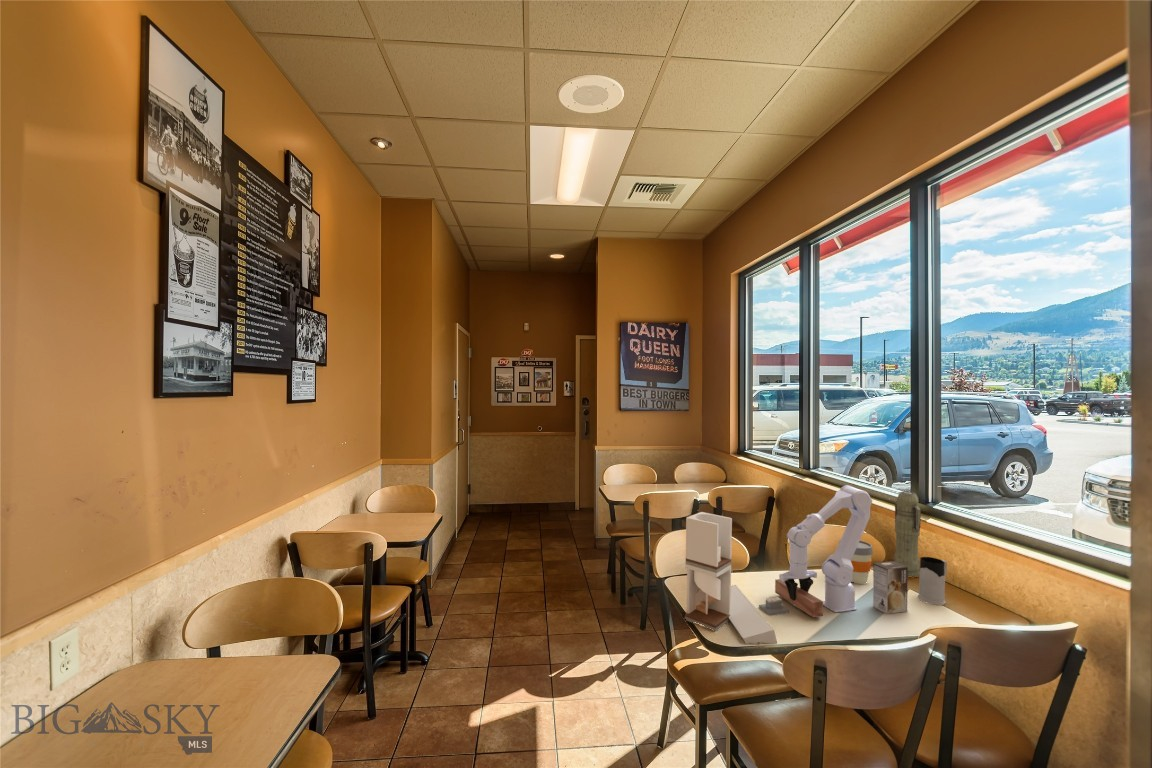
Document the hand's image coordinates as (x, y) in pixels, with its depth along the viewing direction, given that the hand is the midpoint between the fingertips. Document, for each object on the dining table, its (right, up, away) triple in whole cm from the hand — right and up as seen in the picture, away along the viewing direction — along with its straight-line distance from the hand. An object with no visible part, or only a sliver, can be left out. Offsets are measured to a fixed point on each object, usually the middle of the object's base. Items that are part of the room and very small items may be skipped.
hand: (797, 598), depth 179 cm
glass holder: (+57, -4, +9) cm, 57 cm away
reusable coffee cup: (+35, -4, +26) cm, 44 cm away
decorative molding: (-24, -4, -8) cm, 25 cm away
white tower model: (-36, -3, -11) cm, 37 cm away
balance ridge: (-10, -3, -3) cm, 11 cm away
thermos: (+61, -4, +33) cm, 70 cm away
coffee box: (+33, -4, 0) cm, 33 cm away
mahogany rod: (0, -2, 0) cm, 2 cm away
